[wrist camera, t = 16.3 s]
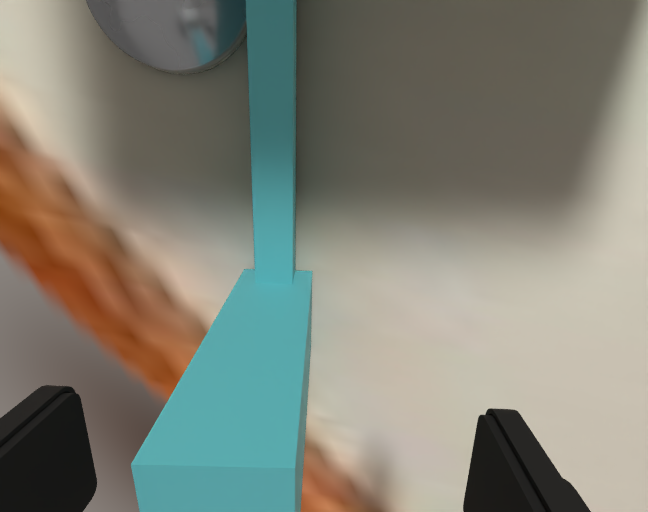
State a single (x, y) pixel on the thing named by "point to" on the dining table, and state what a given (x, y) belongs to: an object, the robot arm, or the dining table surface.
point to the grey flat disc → (174, 31)
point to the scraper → (247, 329)
